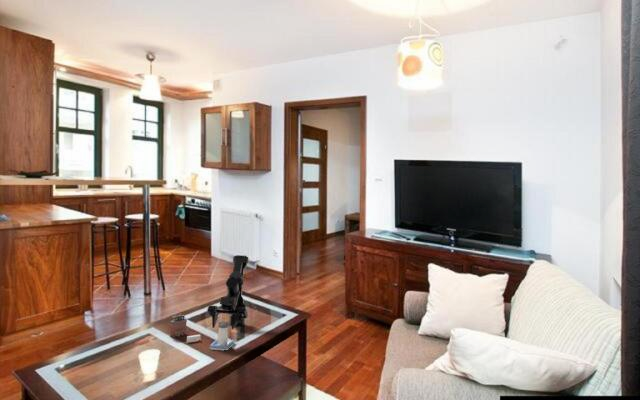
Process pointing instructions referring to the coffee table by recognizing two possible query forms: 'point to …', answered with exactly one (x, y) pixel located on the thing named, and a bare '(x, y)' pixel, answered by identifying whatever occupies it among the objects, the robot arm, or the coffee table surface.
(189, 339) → the duct rail
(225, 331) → the white cylinder
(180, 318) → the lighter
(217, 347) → the blue bay
